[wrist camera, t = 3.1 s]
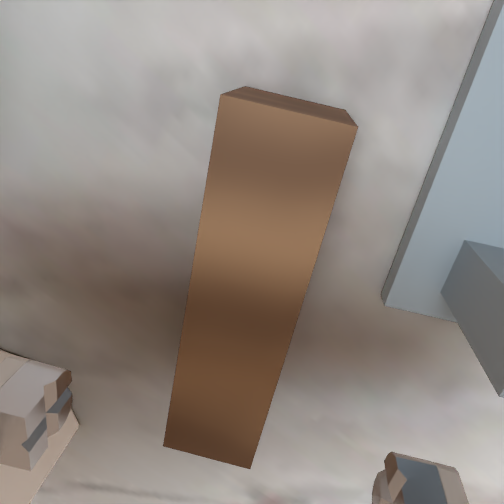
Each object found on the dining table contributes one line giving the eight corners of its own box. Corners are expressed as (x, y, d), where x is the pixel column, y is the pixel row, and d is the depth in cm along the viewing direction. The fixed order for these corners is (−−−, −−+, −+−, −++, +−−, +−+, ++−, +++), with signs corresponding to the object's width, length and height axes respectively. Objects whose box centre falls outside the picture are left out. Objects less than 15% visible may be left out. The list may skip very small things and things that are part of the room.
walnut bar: (262, 388, 22) (250, 469, 18) (192, 369, 23) (163, 446, 18) (344, 109, 16) (358, 127, 11) (245, 86, 16) (220, 94, 11)
